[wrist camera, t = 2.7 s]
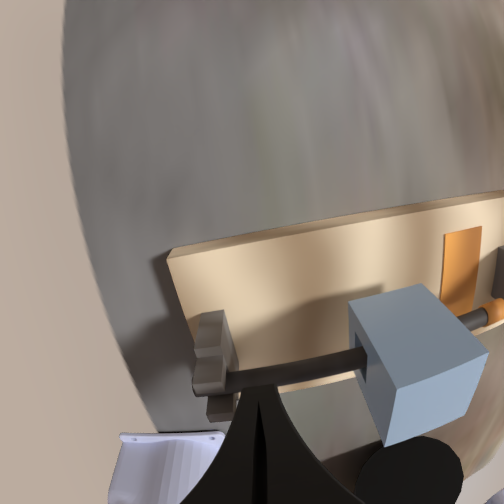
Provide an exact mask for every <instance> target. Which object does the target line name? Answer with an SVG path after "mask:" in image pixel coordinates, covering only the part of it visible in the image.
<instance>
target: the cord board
mask: <svg viewBox="0 0 504 504" xmlns="http://www.w3.org/2000/svg"><path fill="white" fill-rule="evenodd" d="M166 260H167V263H168V266H169V269H170V273H171V276H172V279H173V282H174V285H175V288H176V291H177V294H178V297H179V300H180V303H181V306H182V309H183V312H184V315H185V318H186V321H187V324H188V326H189V329H190V332H191V335H192V338H193V340H194V343H195V345H194V352H195V354H196V357H197V360H196V365H195V371H194V376H193V378H192V388H193V392H194V395H195V396H196V397H204V396H208V402H207V412H206V415H207V418H208V420H209V422H210V423H211V422H223V421H232V420H233V417H234V414H235V411H236V400H239V398H240V394H241V390H242V389H243V388H247V387H254V386H261V385H267V384H273V383H274V384H276V385H277V386H278V391H279V393H283V392H289V391H294V390H299V389H304V388H309V387H314V386H319V385H323V384H328V383H332V382H336V381H341V380H345V379H349V378H353V377H356V376H355V373H354V370H358V369H361V368H365V367H367V357H368V355H367V353H366V351H365V349H364V347H363V346H360V347H356V348H352V349H349V316H348V301H352V300H356V299H360V298H364V297H369V296H373V295H377V294H381V293H385V292H389V291H393V290H397V289H401V288H405V287H408V286H412V285H416V284H420V283H422V284H423V285H424V286H425V287H426V288H427V289H428V290H429V291H430V292H431V293H433V294H434V295H435V296H436V297H437V298H438V299H439V300H440V301H441V302H442V303H443V304H444V305H445V306H446V307H447V308H448V309H449V310H450V311H451V312H452V313H453V314H454V315H455V316H456V317H457V318H458V319H459V320H460V321H461V322H462V323H463V324H464V325H465V327H466V328H467V329H468V330H469V331H470V332H471V333H472V334H473V335H474V336H476V335H478V334H481V333H483V332H485V331H487V330H490V329H492V328H494V327H496V326H498V325H500V324H502V323H504V190H500V191H493V192H486V193H479V194H473V195H466V196H460V197H454V198H447V199H441V200H435V201H429V202H422V203H416V204H410V205H404V206H398V207H392V208H386V209H380V210H375V211H369V212H363V213H357V214H352V215H346V216H340V217H335V218H329V219H323V220H318V221H312V222H307V223H301V224H296V225H291V226H285V227H280V228H275V229H269V230H264V231H259V232H253V233H248V234H243V235H238V236H233V237H228V238H222V239H217V240H212V241H207V242H202V243H197V244H192V245H187V246H182V247H177V248H173V249H172V251H171V252H170V254H169V256H168V257H167V259H166Z"/></svg>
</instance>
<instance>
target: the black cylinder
mask: <svg viewBox="0 0 504 504" xmlns="http://www.w3.org/2000/svg"><path fill="white" fill-rule="evenodd" d="M463 478H464V475H463V471H462V466H461V462H460V459H459V457H458V456H457V455H456V454H455V452H454V451H453V450H452V449H451V448H450V446H449V445H447V444H445V443H443V442H441V441H440V440H437V439H433V438H429V437H425V436H419V437H413V438H410V439H407V440H405V441H402V442H399V443H396V444H393V445H390V446H387V447H384V446H383V447H382V448H381V449H379V450H378V451H377V452H375V453H374V454H373V455H372V456H371V457H370V458H369V460H368V461H367V462H366V463H365V464H364V465H363V467H362V469H361V472H360V475H359V477H358V480H357V482H356V484H355V491H354V495H355V496H357V497H358V498H359V499H360V500H362V501H363V502H364V503H365V504H455V502H456V500H457V498H458V496H459V494H460V492H461V488H462V483H463Z"/></svg>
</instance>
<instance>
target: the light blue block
mask: <svg viewBox="0 0 504 504" xmlns="http://www.w3.org/2000/svg"><path fill="white" fill-rule="evenodd" d="M348 316H349V349H352V348H356V347H360V346H363V347H364V349H365V351H366V353H367V355H368V357H367V367H365V368H361V369H358V370H354V373H355V376H356V378H357V381H358V383H359V385H360V388H361V390H362V393H363V395H364V398H365V400H366V402H367V405H368V407H369V410H370V412H371V415H372V417H373V420H374V422H375V425H376V427H377V430H378V432H379V435H380V438H381V440H382V443H383V445H384V447H387V446H390V445H393V444H396V443H399V442H402V441H405V440H407V439H410V438H413V437H415V436H418V435H420V434H423V433H425V432H428V431H430V430H433V429H435V428H437V427H440V426H442V425H444V424H446V423H449V422H451V421H453V420H455V419H457V418H459V417H461V416H463V415H465V413H466V411H467V408H468V406H469V404H470V402H471V399H472V397H473V394H474V392H475V390H476V387H477V384H478V382H479V379H480V377H481V374H482V371H483V368H484V366H485V363H486V360H487V357H488V354H489V351H488V350H487V349H486V348H485V347H484V346H483V345H482V344H481V342H480V341H479V340H478V339H477V338H476V337H475V336H474V335H473V334H472V333H471V332H470V331H469V330H468V329H467V328H466V327H465V325H464V324H463V323H462V322H461V321H460V320H459V319H458V318H457V317H456V316H455V315H454V314H453V313H452V312H451V311H450V310H449V309H448V308H447V307H446V306H445V305H444V304H443V303H442V302H441V301H440V300H439V299H438V298H437V297H436V296H435V295H434V294H433V293H431V292H430V291H429V290H428V289H427V288H426V287H425V286H424V285H423V284H422V283H420V284H416V285H412V286H408V287H405V288H401V289H397V290H393V291H389V292H385V293H381V294H377V295H373V296H369V297H364V298H360V299H356V300H352V301H348Z"/></svg>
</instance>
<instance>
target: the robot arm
mask: <svg viewBox="0 0 504 504" xmlns="http://www.w3.org/2000/svg"><path fill="white" fill-rule="evenodd" d="M119 438H120V439H121V441H122V442H123V443H122V446H121V450H120V453H119V457H118V460H117V463H116V466H115V470H114V473H113V477H112V480H111V484H110V488H109V492H108V504H365V503H364V502H363V501H362V500H360V499H359V498H358V497H357V496H355V495H354V494H353V493H352V492H350V491H349V490H348V489H347V488H346V487H345V486H343V485H342V484H341V483H340V482H339V481H338V480H337V479H336V478H335V477H334V476H333V475H332V474H331V473H330V472H329V471H328V470H327V469H326V468H325V467H324V466H323V465H322V464H321V462H320V461H319V460H318V459H317V458H316V457H315V455H314V454H313V453H312V451H311V450H310V449H309V448H308V446H307V445H306V443H305V442H304V441H303V439H302V438H301V436H300V435H299V433H298V432H297V430H296V428H295V427H294V425H293V423H292V421H291V420H290V418H289V416H288V414H287V412H286V410H285V408H284V406H283V403H282V401H281V398H280V395H279V391H278V386H277V385H276V384H274V383H273V384H267V385H261V386H254V387H247V388H243V389H242V390H241V394H240V398H239V402H238V405H237V409H236V411H235V414H234V417H233V420H232V422H231V425H230V427H229V430H228V432H227V434H226V436H225V434H224V433H223V432H220V431H212V432H196V433H154V434H153V433H152V434H151V433H120V435H119ZM485 504H504V488H503V489H502V490H500V491H499V492H497V493H496V494H495V495H493V496H492V497H491V498H490V499H489V500H488V501H487V502H486V503H485Z"/></svg>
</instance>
